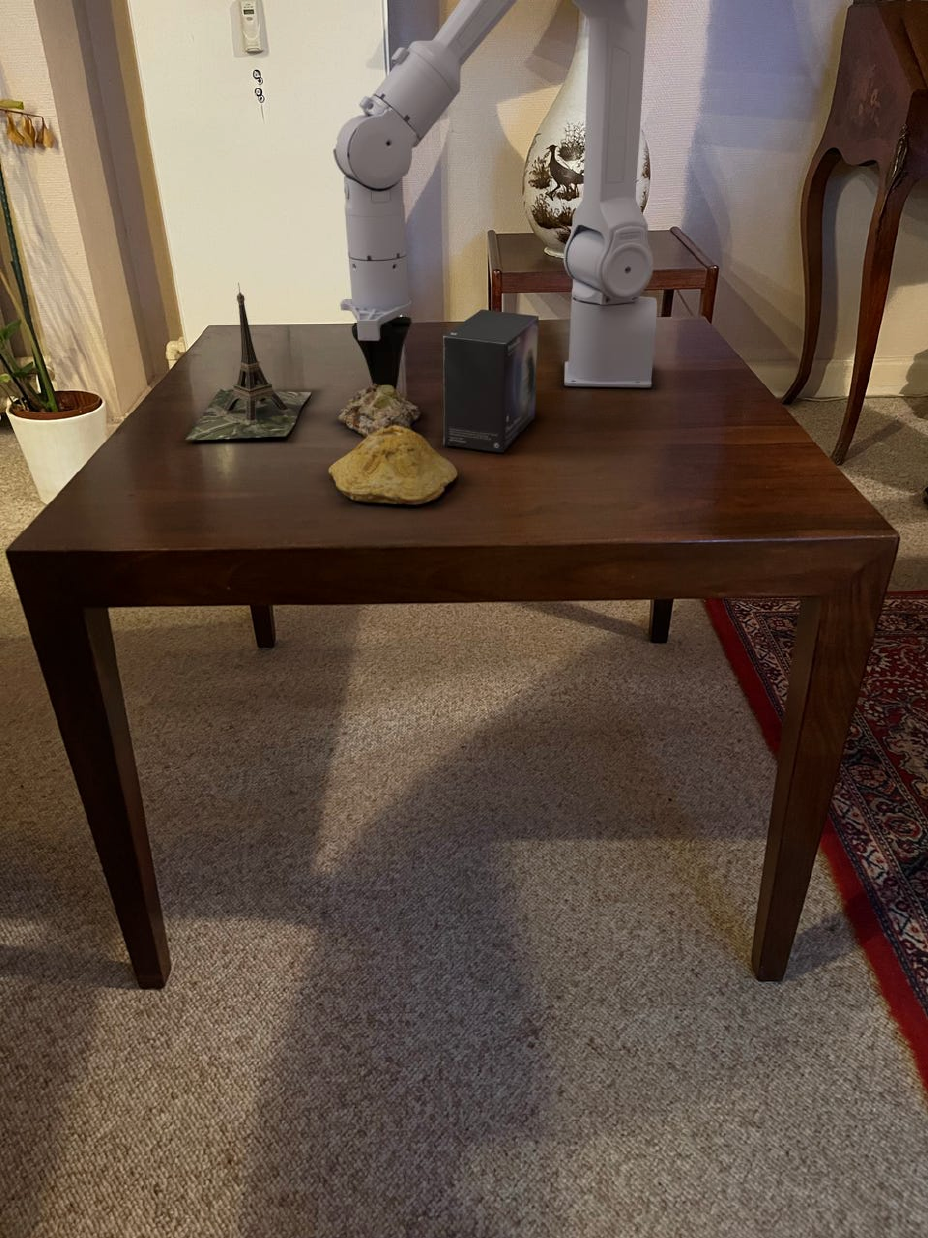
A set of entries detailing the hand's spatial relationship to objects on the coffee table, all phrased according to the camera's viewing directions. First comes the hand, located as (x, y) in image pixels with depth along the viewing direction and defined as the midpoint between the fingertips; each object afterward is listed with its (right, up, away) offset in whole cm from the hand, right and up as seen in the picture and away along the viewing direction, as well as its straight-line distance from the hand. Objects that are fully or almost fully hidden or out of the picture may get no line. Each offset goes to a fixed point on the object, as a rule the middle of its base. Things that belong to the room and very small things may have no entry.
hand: (385, 391), depth 98 cm
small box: (+11, -6, -7) cm, 14 cm away
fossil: (+2, -12, -17) cm, 21 cm away
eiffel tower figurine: (-14, -3, -2) cm, 14 cm away
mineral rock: (0, -5, -4) cm, 6 cm away
